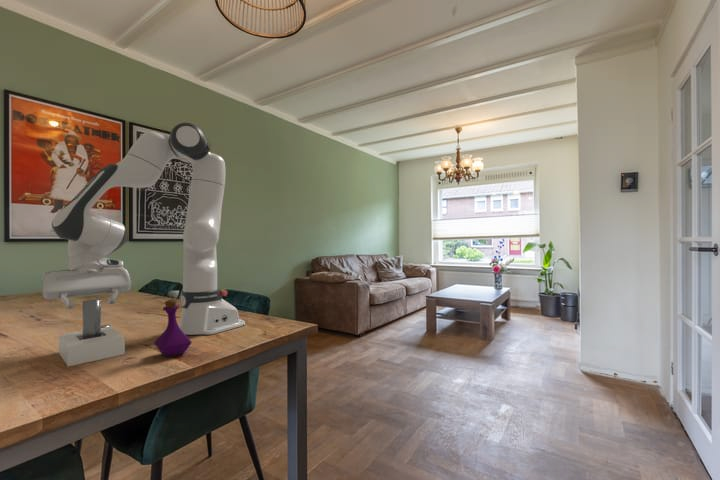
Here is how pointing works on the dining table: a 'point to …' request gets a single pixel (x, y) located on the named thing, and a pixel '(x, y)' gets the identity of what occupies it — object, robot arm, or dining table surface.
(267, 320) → the dining table surface
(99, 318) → the tall pin
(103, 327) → the short pin
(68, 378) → the dining table surface
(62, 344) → the guide block
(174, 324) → the perfume bottle
